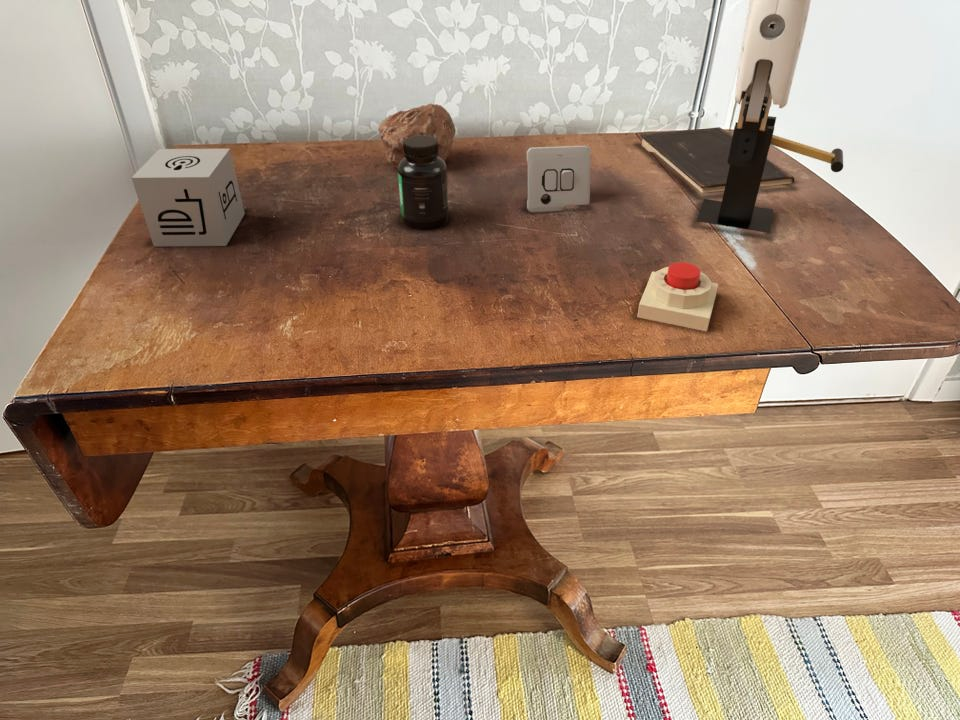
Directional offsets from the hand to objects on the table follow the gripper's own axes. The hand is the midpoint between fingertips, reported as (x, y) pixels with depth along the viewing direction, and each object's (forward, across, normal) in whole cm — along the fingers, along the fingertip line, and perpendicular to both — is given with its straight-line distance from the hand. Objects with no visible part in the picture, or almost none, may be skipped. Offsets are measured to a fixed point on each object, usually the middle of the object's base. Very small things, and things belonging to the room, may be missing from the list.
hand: (743, 163), depth 75 cm
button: (+14, -3, +4) cm, 15 cm away
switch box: (+17, -3, +4) cm, 18 cm away
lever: (+7, +23, -5) cm, 24 cm away
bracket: (+18, +23, 0) cm, 29 cm away
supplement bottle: (+17, +7, +42) cm, 46 cm away
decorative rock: (+17, +26, +52) cm, 60 cm away
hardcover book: (+18, +42, +5) cm, 46 cm away
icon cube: (+17, -7, +71) cm, 73 cm away
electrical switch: (+17, +19, +26) cm, 36 cm away
